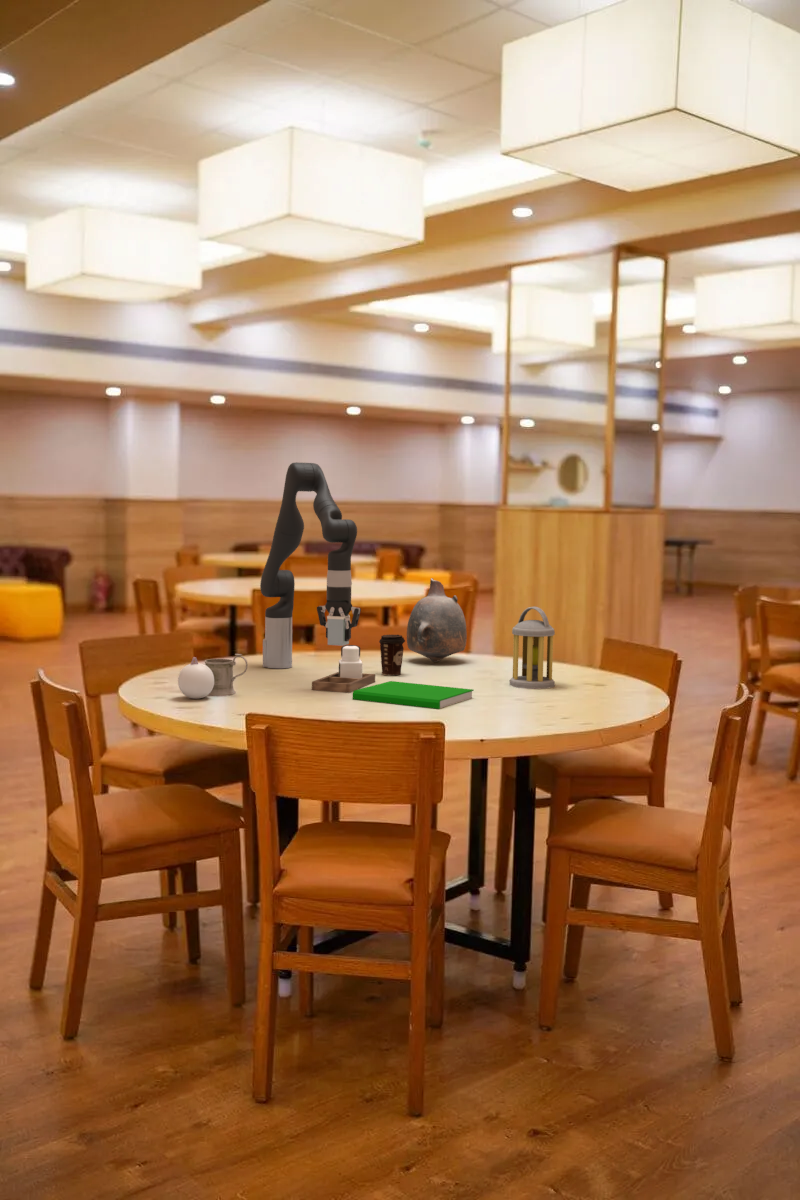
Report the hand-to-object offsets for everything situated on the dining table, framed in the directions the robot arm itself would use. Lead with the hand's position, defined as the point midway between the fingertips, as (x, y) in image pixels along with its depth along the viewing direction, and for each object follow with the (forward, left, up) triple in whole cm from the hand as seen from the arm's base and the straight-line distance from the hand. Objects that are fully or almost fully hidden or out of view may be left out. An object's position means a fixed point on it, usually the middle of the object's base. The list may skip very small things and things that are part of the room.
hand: (338, 640), depth 365 cm
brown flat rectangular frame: (0, +5, -15) cm, 16 cm away
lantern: (+54, +31, -15) cm, 64 cm away
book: (+27, -8, -16) cm, 32 cm away
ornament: (-31, -33, -15) cm, 48 cm away
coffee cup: (+6, +34, -15) cm, 37 cm away
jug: (+11, +69, -15) cm, 71 cm away
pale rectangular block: (0, 0, -1) cm, 1 cm away
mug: (-27, -22, -15) cm, 38 cm away
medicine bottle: (0, +11, -15) cm, 18 cm away
